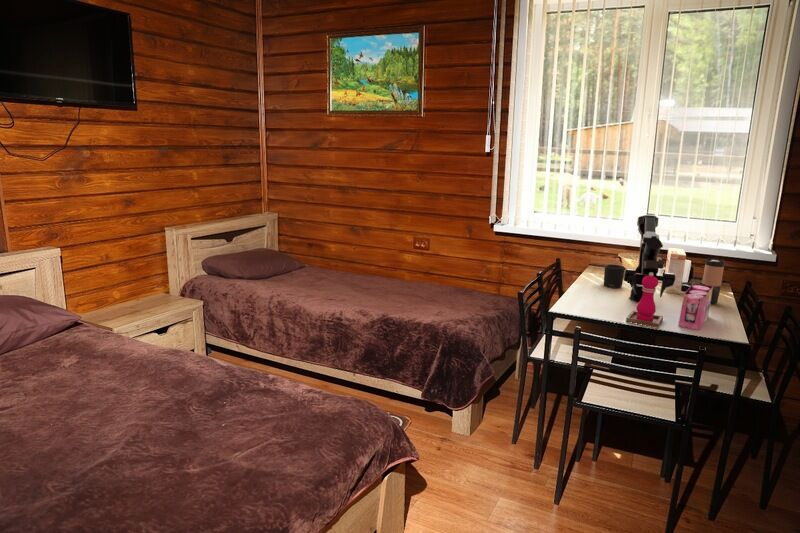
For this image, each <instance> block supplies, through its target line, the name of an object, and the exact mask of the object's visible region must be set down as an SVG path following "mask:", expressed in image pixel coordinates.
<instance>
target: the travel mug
mask: <svg viewBox="0 0 800 533" xmlns="http://www.w3.org/2000/svg"><path fill="white" fill-rule="evenodd" d="M725 263H726V261H725V260H724V259H720V258H716V257H715V258H713V257H712V258H710V257H708V258H705V265H704V270H703V276H702V282H701V284H702V285H709V286H713V290H712V296H711V302H710V305H717V304H718V303H719V302H718V301H719V298H720V297H719V296H720V293H721V287H722V282H723V276H724V275H723V274H724V271H725V270H724V269H725Z"/></svg>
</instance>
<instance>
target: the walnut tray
mask: <svg viewBox="0 0 800 533" xmlns="http://www.w3.org/2000/svg"><path fill="white" fill-rule="evenodd" d="M637 314H638V312H637V310H631V311H630V313H629V314H628V315H627V316H626V318H625V323H627V322H632V323H631V324H633V323H637V324H636V325H638V324H642V325H641V326H643V325H646V326H645V327H648V326H651V327H650V328H653V327H657V328H656V329H659V327H660V326H661V324H662V322H663V319H664V316H662V315H660V314H659V315H658V314H653V315H652V316H653V321H652V322H649V321H644V320H638V319H636V317H637ZM659 325H660V326H659Z"/></svg>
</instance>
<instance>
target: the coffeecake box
mask: <svg viewBox="0 0 800 533" xmlns="http://www.w3.org/2000/svg"><path fill="white" fill-rule="evenodd" d="M667 249H668V250H667V257H666V265H665V271H664V273H672V274H674V275H675V281H674V284H673V286H670V287H666V289H665V290H664V292H665V293H668V292H669V293H670V294H680V295H681V293H682V286H683V285H682V284H683V280H684V279H683V278H684V272H685V266H686V261H687V260H686V258H687V254H686V252H685V250H684V249H681V248H674V247H668V248H667Z"/></svg>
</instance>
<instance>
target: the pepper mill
mask: <svg viewBox="0 0 800 533" xmlns="http://www.w3.org/2000/svg"><path fill="white" fill-rule="evenodd" d="M653 275H654V273H653V272H650V273H649V276H645V277H644V278H643V279H642V284H643V287H642V288H643V289H642V290H643V295H642V298H641V300H640V301H639V302H637V305H636V308H635V311H637V312H638V314H637V317H636V319H638V320H644V321H649V322H652V321H653V316H652V315H655V314H656V312H657V310H656V309H657V308H656V304H655V298H654V297H655V296H654V295H655V293H656V290H657V287H658V285H659V281H658V279H657V278H656V277H654V276H653Z"/></svg>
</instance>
